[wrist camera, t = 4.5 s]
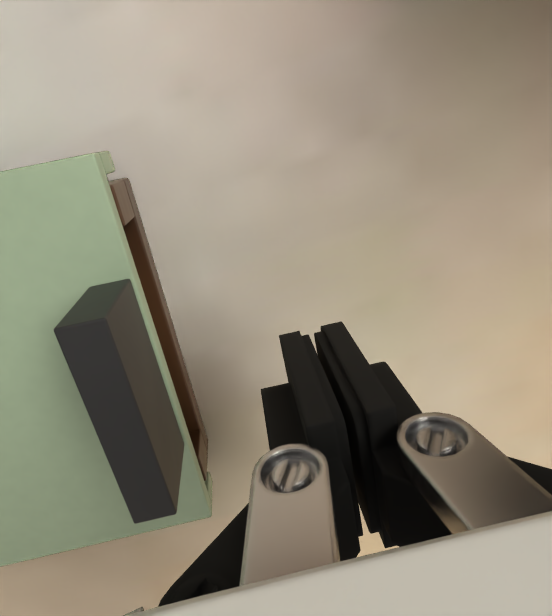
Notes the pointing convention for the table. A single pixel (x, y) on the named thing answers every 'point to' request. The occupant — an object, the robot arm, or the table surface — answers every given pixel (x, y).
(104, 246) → the lid
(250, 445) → the table surface
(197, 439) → the tray
